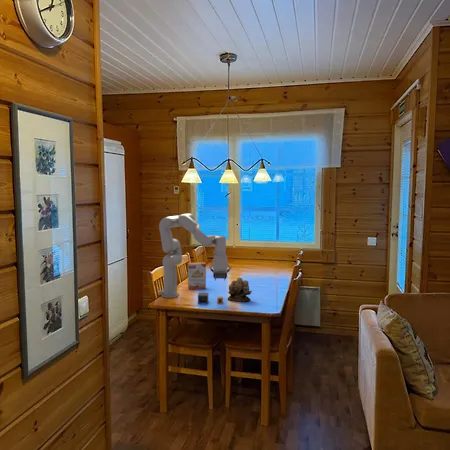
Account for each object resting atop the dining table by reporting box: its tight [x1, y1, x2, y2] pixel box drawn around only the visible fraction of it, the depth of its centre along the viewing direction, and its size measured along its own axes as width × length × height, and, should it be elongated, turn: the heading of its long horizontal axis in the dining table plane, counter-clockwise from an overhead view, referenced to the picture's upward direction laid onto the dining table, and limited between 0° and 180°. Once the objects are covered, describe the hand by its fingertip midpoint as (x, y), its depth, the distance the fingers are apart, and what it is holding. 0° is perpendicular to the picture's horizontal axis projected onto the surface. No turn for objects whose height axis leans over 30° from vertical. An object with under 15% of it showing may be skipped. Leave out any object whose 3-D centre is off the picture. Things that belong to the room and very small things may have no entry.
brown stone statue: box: [227, 277, 253, 303], centre depth 298 cm, size 18×12×17 cm, turn 75°
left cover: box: [197, 292, 209, 305], centre depth 292 cm, size 7×7×6 cm
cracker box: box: [187, 261, 207, 290], centre depth 330 cm, size 14×6×21 cm, turn 101°
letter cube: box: [216, 296, 224, 305], centre depth 291 cm, size 4×4×4 cm
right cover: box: [214, 270, 226, 282], centre depth 290 cm, size 7×7×6 cm
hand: (220, 278), depth 290 cm, fingers closed on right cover, 7 cm apart
